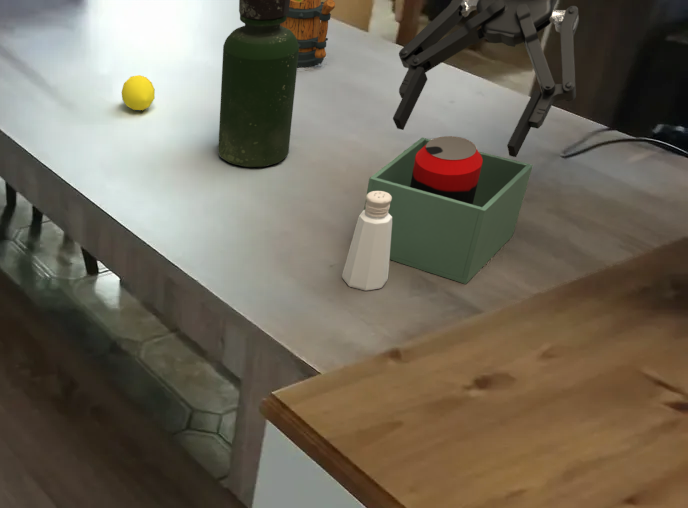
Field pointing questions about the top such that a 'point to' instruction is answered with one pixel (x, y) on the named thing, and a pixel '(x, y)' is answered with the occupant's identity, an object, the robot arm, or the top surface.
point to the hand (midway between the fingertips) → (452, 137)
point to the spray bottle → (258, 86)
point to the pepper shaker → (370, 245)
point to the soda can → (448, 168)
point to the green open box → (451, 216)
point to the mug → (309, 29)
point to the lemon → (138, 92)
